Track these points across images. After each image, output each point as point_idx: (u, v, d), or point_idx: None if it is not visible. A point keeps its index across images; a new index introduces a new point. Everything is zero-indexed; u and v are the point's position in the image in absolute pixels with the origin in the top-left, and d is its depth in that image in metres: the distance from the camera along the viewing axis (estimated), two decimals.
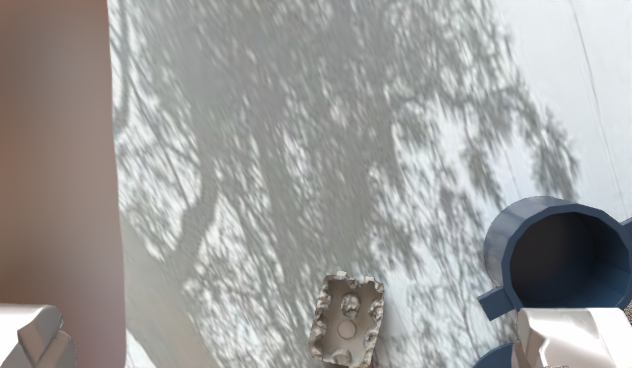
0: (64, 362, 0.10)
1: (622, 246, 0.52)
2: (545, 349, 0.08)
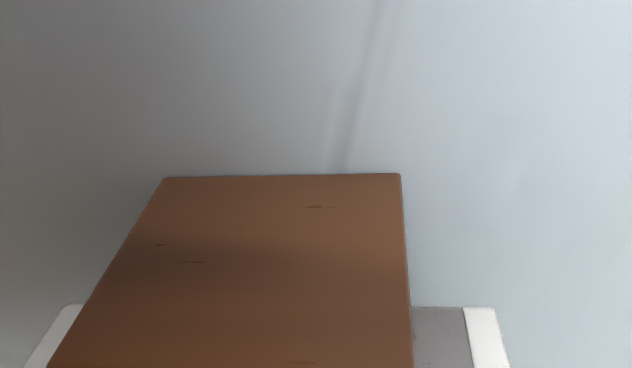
0: None
1: None
2: None
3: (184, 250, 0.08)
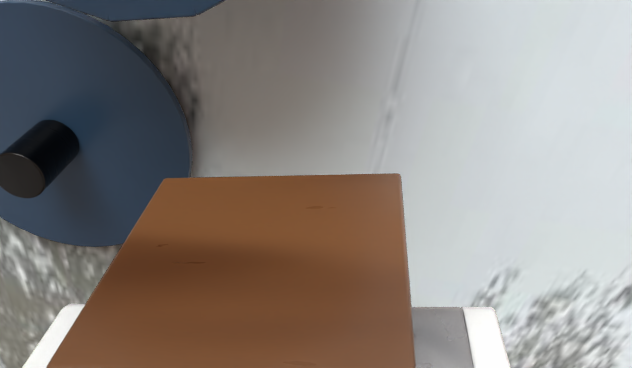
0: None
1: None
2: None
3: (185, 250, 0.08)
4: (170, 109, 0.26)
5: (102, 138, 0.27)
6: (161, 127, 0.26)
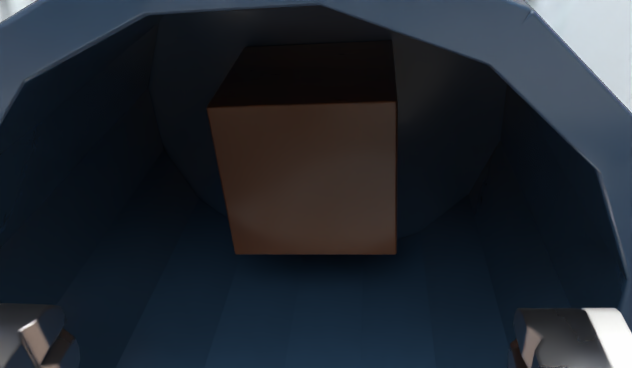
0: (67, 362, 0.10)
1: None
2: (541, 349, 0.08)
3: (267, 71, 0.14)
4: None
5: None
6: None
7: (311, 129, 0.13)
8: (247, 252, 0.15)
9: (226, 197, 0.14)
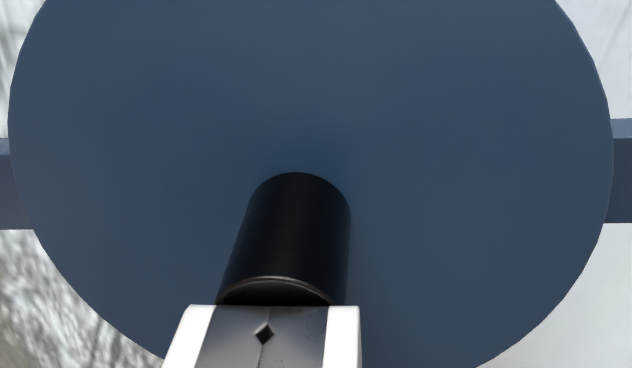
0: None
1: None
2: (267, 344, 0.08)
3: None
4: (597, 154, 0.11)
5: (406, 212, 0.12)
6: (556, 194, 0.12)
7: None
8: None
9: None
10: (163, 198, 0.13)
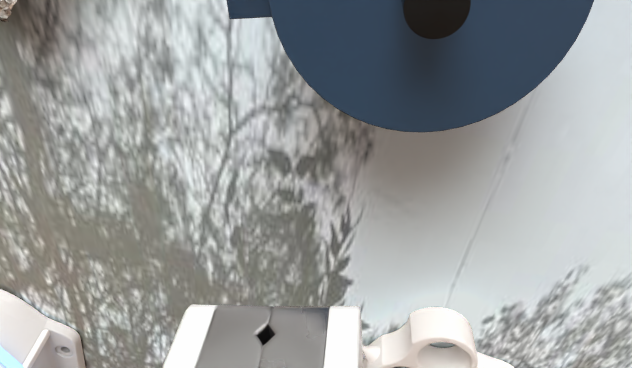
0: None
1: None
2: (268, 345, 0.08)
3: None
4: None
5: None
6: None
7: None
8: None
9: None
10: None
